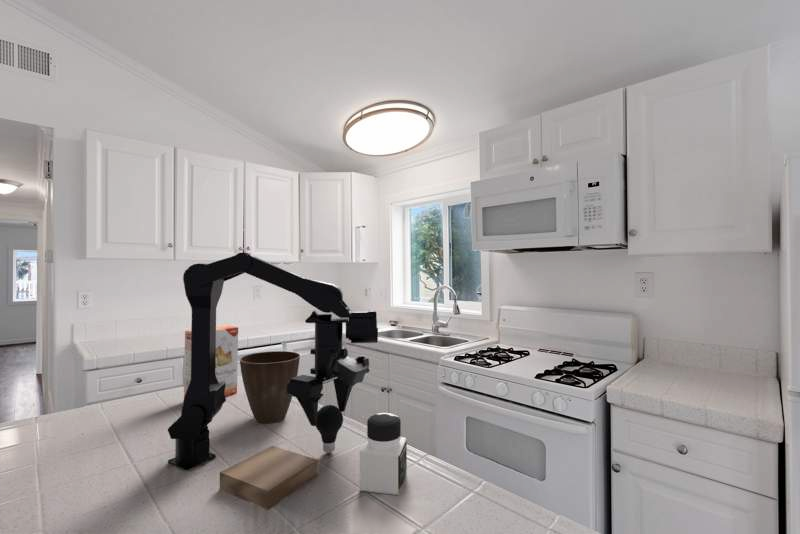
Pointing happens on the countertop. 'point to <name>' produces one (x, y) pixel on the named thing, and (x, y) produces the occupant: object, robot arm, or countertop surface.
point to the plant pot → (269, 383)
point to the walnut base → (268, 476)
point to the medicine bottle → (383, 455)
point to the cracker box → (218, 358)
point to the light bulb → (329, 426)
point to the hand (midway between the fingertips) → (328, 418)
